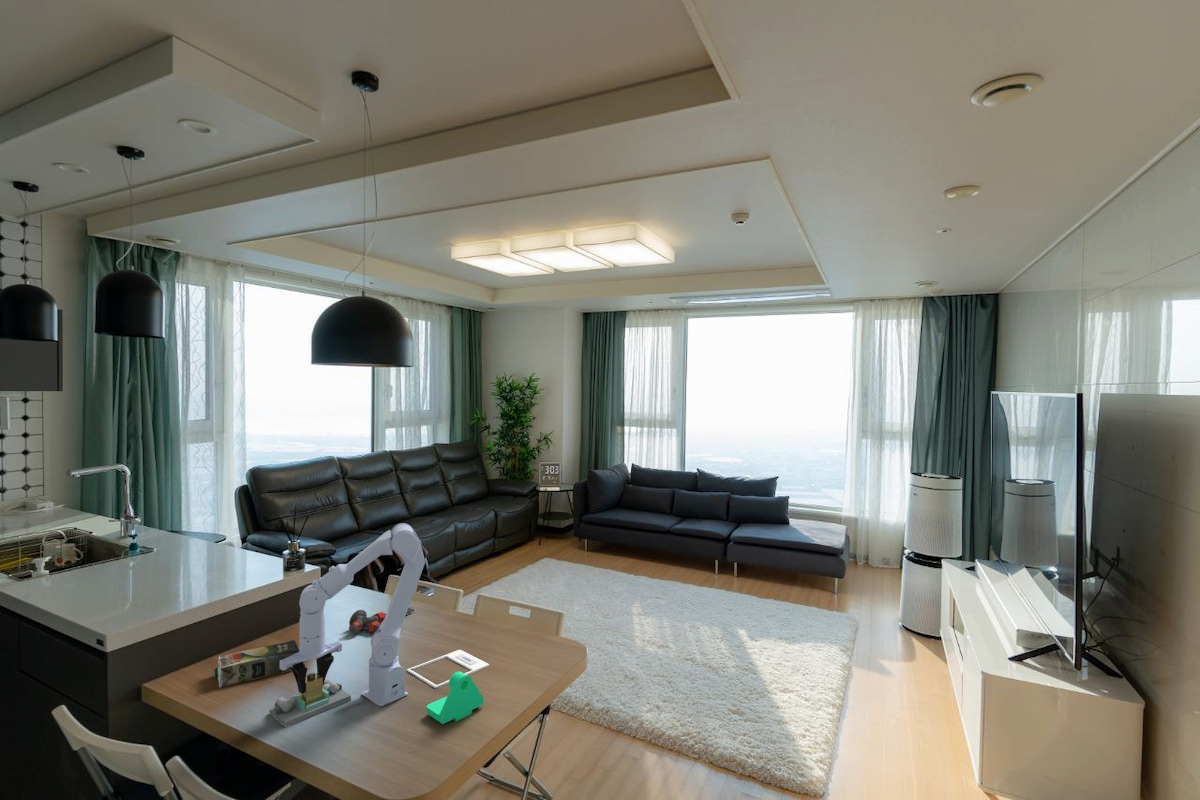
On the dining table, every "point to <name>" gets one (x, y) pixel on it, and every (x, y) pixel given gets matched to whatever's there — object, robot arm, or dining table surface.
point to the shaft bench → (297, 711)
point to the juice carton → (253, 663)
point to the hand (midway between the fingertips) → (311, 688)
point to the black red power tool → (367, 621)
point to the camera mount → (456, 700)
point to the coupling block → (312, 689)
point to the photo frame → (458, 657)
